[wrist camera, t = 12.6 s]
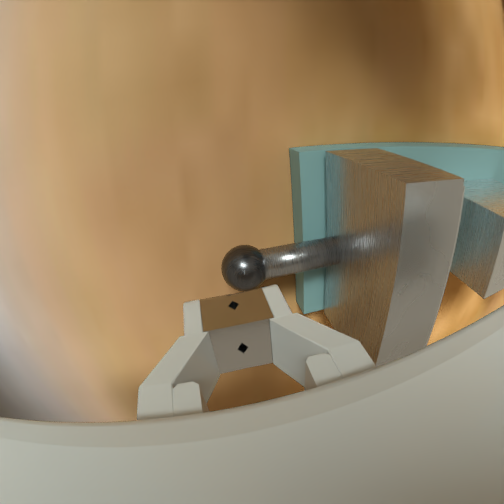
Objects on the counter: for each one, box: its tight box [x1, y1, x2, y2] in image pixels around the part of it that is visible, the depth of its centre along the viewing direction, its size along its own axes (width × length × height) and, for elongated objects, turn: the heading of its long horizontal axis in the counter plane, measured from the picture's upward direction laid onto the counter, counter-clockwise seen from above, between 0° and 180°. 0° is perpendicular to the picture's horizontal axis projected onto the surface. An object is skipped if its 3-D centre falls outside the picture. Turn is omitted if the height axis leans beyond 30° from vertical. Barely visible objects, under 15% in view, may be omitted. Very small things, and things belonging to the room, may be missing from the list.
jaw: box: [221, 148, 465, 367], centre depth 11 cm, size 8×8×5 cm
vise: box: [289, 142, 504, 314], centre depth 13 cm, size 20×8×6 cm, turn 96°
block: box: [450, 179, 504, 299], centre depth 12 cm, size 6×4×5 cm, turn 96°
